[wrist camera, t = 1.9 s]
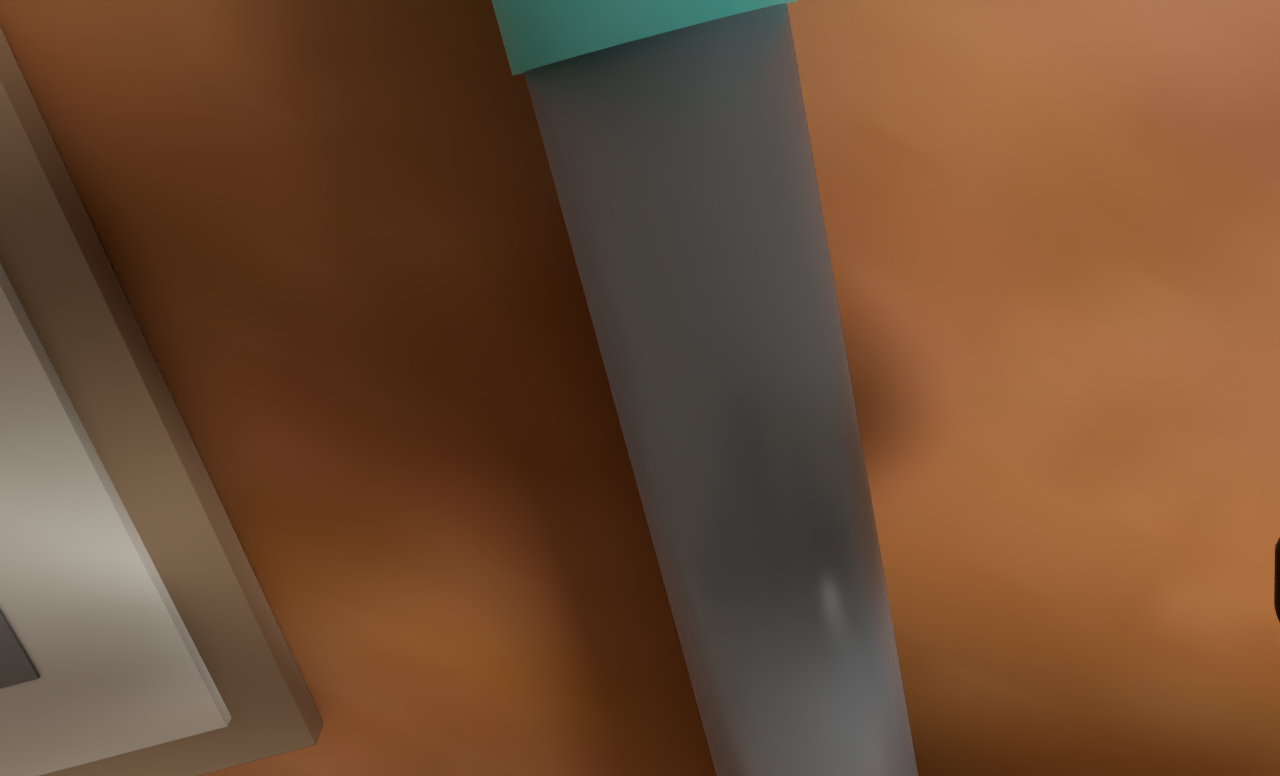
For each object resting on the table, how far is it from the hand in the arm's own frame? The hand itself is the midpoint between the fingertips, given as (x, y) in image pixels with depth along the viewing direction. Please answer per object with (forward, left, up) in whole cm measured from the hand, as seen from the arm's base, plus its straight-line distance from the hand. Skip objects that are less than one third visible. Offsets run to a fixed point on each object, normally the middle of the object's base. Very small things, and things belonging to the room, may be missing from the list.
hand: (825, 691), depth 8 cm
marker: (0, 0, -3) cm, 3 cm away
